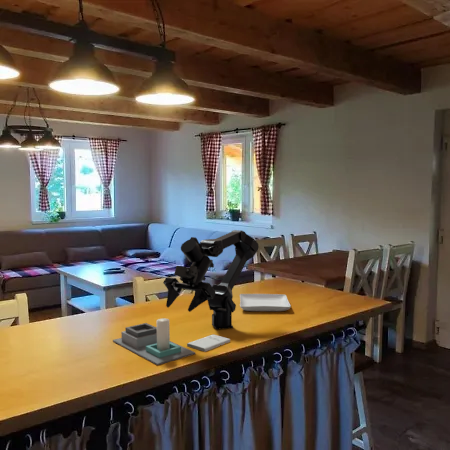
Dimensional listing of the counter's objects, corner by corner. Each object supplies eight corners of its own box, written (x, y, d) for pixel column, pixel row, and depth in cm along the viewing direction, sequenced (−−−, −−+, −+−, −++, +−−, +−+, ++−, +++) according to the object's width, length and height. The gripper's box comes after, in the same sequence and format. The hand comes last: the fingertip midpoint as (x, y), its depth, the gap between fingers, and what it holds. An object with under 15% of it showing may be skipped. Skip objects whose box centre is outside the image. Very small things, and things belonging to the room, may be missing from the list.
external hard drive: (186, 347, 154) (212, 338, 164) (204, 353, 149) (230, 343, 158) (186, 342, 154) (212, 333, 164) (204, 348, 149) (230, 338, 158)
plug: (162, 348, 151) (162, 317, 150) (172, 350, 149) (171, 319, 148) (154, 351, 148) (153, 320, 147) (163, 354, 145) (163, 322, 144)
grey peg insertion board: (112, 341, 159) (112, 326, 159) (148, 332, 168) (148, 319, 168) (157, 365, 138) (157, 348, 137) (195, 353, 147) (195, 338, 147)
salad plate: (291, 313, 193) (291, 305, 193) (239, 313, 194) (239, 305, 193) (285, 301, 214) (285, 293, 214) (239, 300, 215) (239, 293, 214)
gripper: (166, 253, 161) (144, 291, 153) (210, 258, 151) (188, 299, 143) (181, 272, 168) (161, 309, 160) (224, 278, 158) (204, 318, 150)
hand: (177, 308), depth 153 cm, fingers open, 9 cm apart
